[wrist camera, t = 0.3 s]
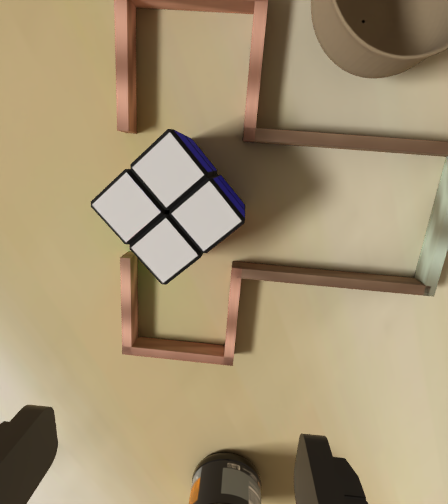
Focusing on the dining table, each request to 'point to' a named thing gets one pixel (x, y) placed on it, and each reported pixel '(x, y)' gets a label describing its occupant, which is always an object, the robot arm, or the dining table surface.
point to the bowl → (380, 33)
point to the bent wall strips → (444, 209)
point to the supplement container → (225, 481)
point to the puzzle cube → (170, 206)
